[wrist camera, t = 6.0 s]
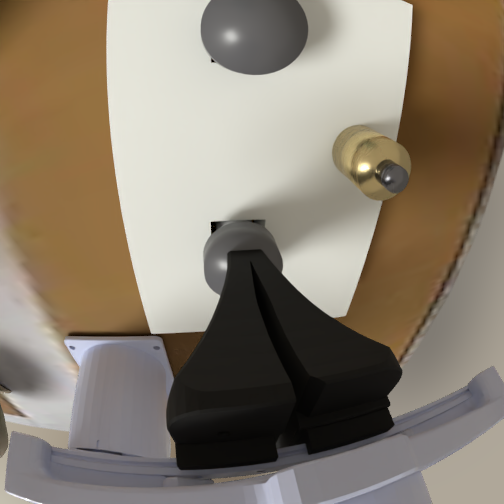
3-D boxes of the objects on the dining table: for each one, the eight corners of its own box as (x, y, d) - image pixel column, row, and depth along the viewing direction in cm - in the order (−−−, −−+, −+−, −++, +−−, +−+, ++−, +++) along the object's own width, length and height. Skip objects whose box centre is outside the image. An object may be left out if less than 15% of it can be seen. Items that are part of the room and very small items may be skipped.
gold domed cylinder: (374, 177, 13) (413, 211, 10) (328, 175, 12) (362, 210, 10) (384, 128, 11) (429, 152, 9) (336, 121, 11) (376, 144, 8)
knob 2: (260, 242, 17) (278, 296, 13) (202, 245, 16) (206, 302, 13) (264, 189, 15) (287, 235, 11) (200, 191, 14) (202, 240, 11)
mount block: (332, 289, 20) (345, 315, 18) (154, 303, 18) (151, 333, 16) (382, 8, 10) (412, 5, 8) (125, -13, 8) (110, -27, 6)
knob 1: (272, 73, 11) (304, 79, 8) (199, 71, 11) (199, 74, 8) (276, 8, 10) (311, -11, 6) (201, 5, 9) (203, -21, 6)
